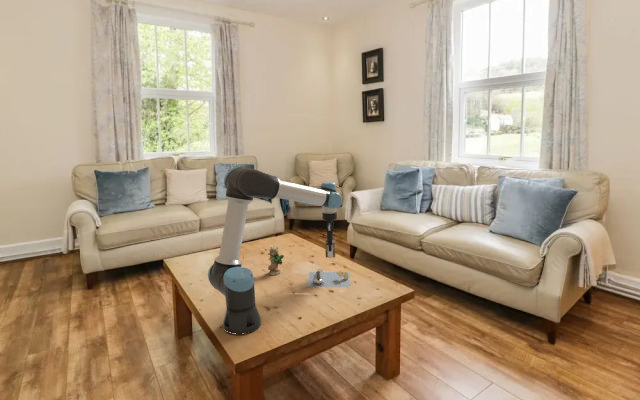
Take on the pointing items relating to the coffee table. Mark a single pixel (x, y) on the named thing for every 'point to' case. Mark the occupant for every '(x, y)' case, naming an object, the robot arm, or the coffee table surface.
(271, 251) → the figurine
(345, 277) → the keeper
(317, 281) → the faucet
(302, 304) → the coffee table surface
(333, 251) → the block
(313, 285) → the board
